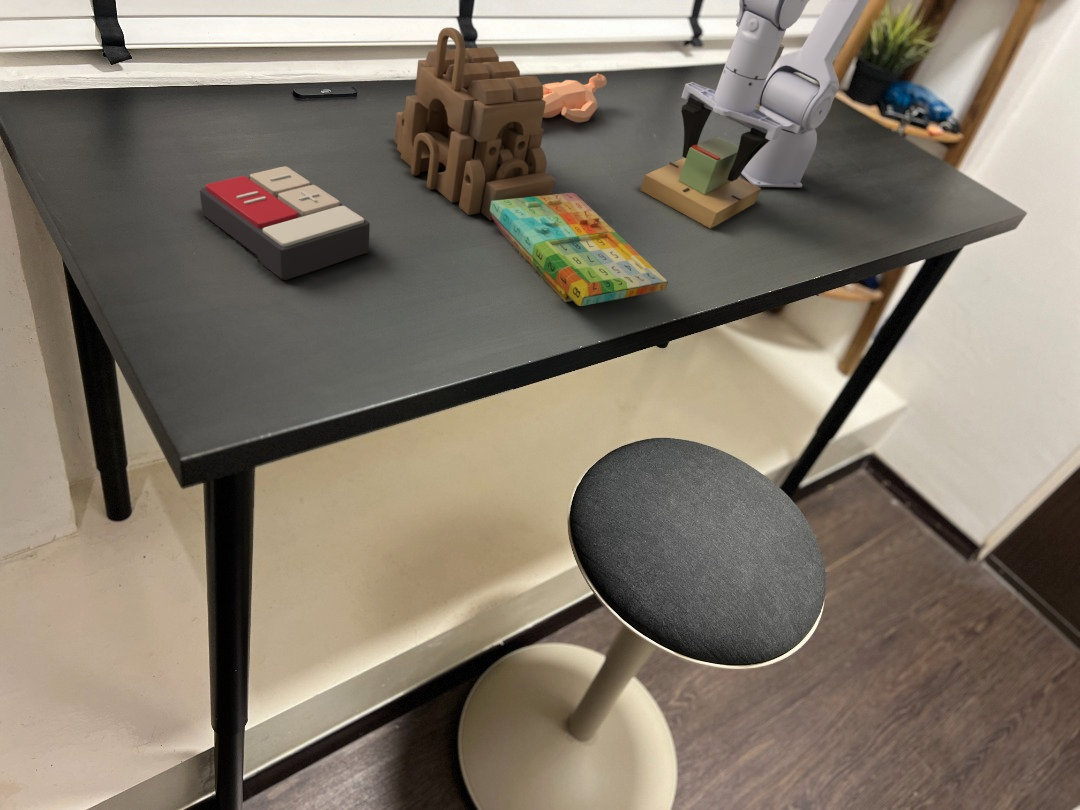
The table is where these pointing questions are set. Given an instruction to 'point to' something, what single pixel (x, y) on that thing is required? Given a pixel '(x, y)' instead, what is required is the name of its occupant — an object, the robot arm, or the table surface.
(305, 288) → the table surface
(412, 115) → the wooden puzzle
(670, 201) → the tan flat block
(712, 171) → the box
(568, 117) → the male figurine
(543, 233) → the puzzle game
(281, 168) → the calculator
